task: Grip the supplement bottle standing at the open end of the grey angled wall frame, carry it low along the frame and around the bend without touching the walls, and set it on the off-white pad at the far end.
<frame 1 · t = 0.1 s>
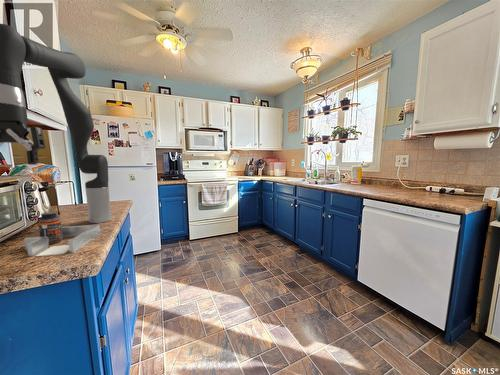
hand: (14, 164, 58), 29 cm above the countertop, tool pointing down, fingers open, 8 cm apart
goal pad: (57, 250, 70), on the countertop
grey angled wall frame: (59, 244, 75), on the countertop
supplement bottle: (52, 242, 77), on the countertop
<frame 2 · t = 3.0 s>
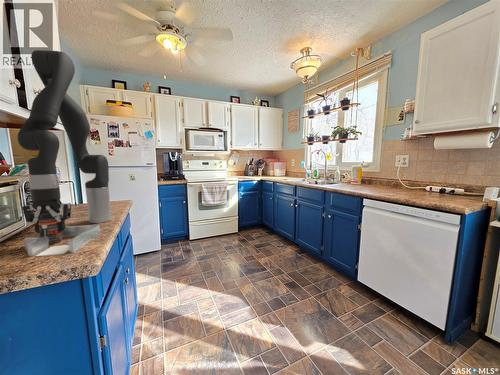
hand: (50, 231, 76), 4 cm above the countertop, tool pointing down, fingers closed on supplement bottle, 6 cm apart
supplement bottle: (52, 242, 77), on the countertop, touching gripper
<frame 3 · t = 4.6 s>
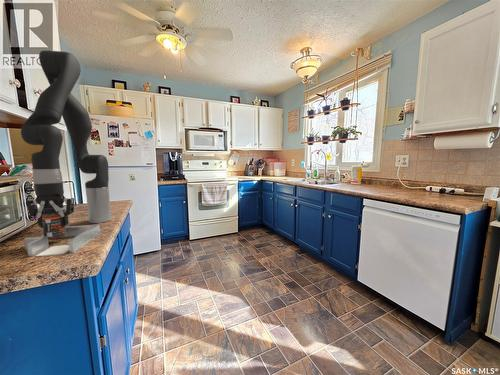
hand: (54, 226, 76), 6 cm above the countertop, tool pointing down, fingers closed on supplement bottle, 6 cm apart
supplement bottle: (55, 237, 77), point 2 cm above the countertop, touching gripper
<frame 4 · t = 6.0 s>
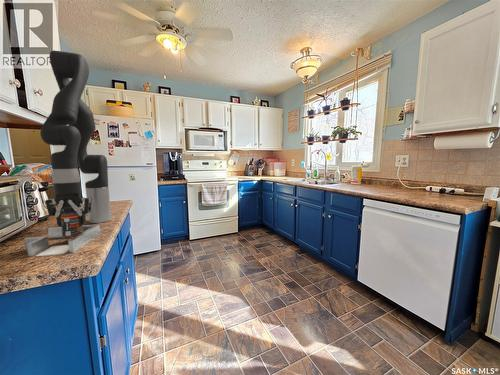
hand: (72, 225, 78), 6 cm above the countertop, tool pointing down, fingers closed on supplement bottle, 6 cm apart
supplement bottle: (73, 236, 78), point 2 cm above the countertop, touching gripper
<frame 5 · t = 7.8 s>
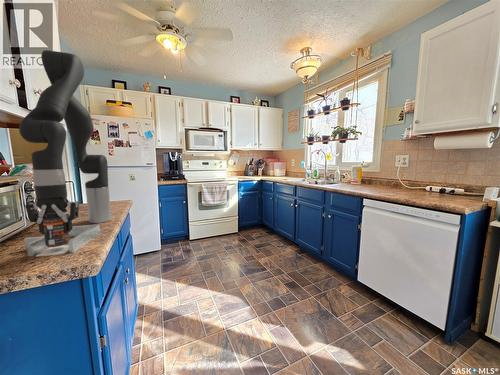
hand: (56, 232, 69), 6 cm above the countertop, tool pointing down, fingers closed on supplement bottle, 6 cm apart
supplement bottle: (58, 245, 70), point 2 cm above the countertop, touching gripper
when the fingers open (5 cm above the countertop, at t = 9.2 s): supplement bottle drops 1 cm, resting on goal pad.
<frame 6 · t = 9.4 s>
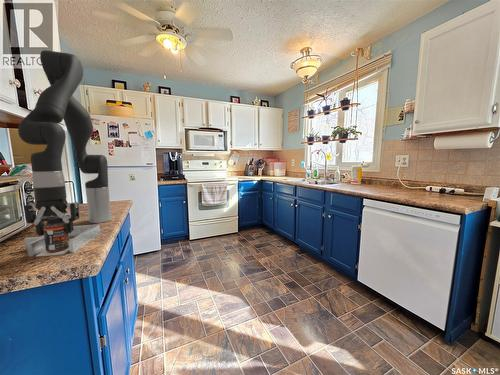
hand: (55, 233, 69), 6 cm above the countertop, tool pointing down, fingers open, 7 cm apart
supplement bottle: (58, 249, 70), resting on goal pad
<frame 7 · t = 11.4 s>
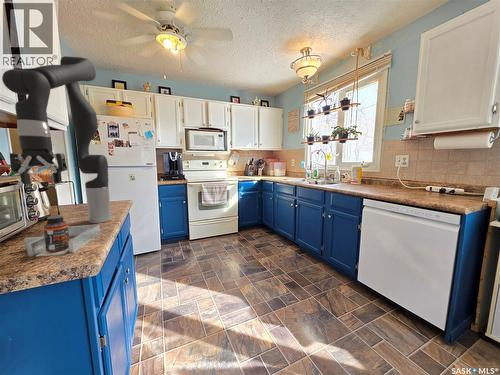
hand: (42, 184, 71), 22 cm above the countertop, tool pointing down, fingers open, 8 cm apart
nothing on the countertop moved.
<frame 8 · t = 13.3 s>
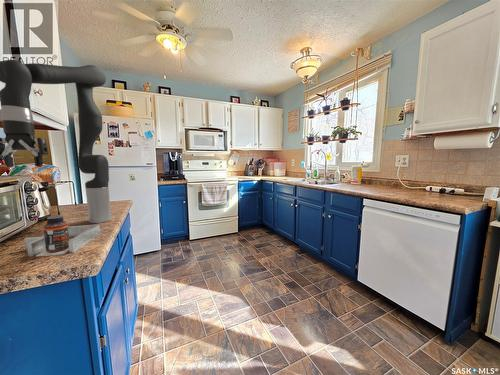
hand: (24, 166, 75), 28 cm above the countertop, tool pointing down, fingers open, 8 cm apart
nothing on the countertop moved.
at the end: supplement bottle 0.2 cm off-centre on the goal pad, point 0.1 cm above the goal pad's base; supplement bottle tilted 0°; supplement bottle touching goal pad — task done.
